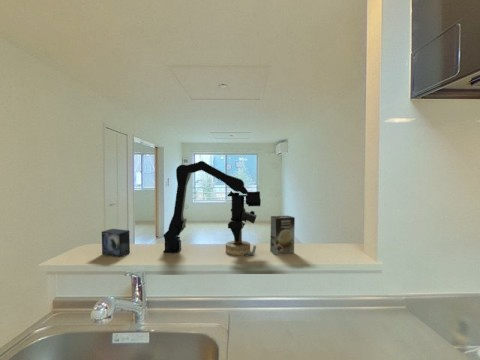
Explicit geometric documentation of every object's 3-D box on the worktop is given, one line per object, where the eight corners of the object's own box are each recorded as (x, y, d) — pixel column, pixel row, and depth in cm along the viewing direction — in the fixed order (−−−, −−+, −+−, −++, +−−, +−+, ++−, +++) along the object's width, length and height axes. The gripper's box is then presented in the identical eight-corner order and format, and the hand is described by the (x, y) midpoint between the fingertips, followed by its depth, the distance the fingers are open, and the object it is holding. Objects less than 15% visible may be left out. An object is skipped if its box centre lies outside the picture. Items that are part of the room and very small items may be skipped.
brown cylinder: (233, 247, 127) (233, 225, 127) (234, 245, 131) (234, 223, 130) (241, 248, 127) (241, 225, 127) (242, 246, 130) (242, 224, 130)
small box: (100, 255, 124) (100, 231, 123) (112, 251, 130) (112, 228, 129) (119, 257, 120) (118, 233, 119) (130, 253, 126) (130, 230, 125)
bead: (224, 254, 124) (223, 246, 124) (228, 247, 135) (228, 240, 135) (248, 255, 123) (248, 247, 123) (251, 248, 134) (251, 240, 134)
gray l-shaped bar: (243, 255, 122) (243, 254, 122) (247, 246, 136) (247, 245, 136) (253, 255, 122) (253, 254, 122) (255, 246, 136) (255, 245, 136)
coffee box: (276, 255, 123) (276, 218, 122) (269, 251, 129) (270, 216, 128) (294, 253, 126) (295, 217, 125) (287, 249, 132) (288, 215, 131)
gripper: (254, 209, 118) (253, 246, 118) (256, 204, 136) (256, 236, 137) (227, 208, 119) (227, 245, 120) (234, 203, 138) (234, 235, 138)
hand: (237, 240), depth 129 cm, fingers closed on brown cylinder, 3 cm apart
